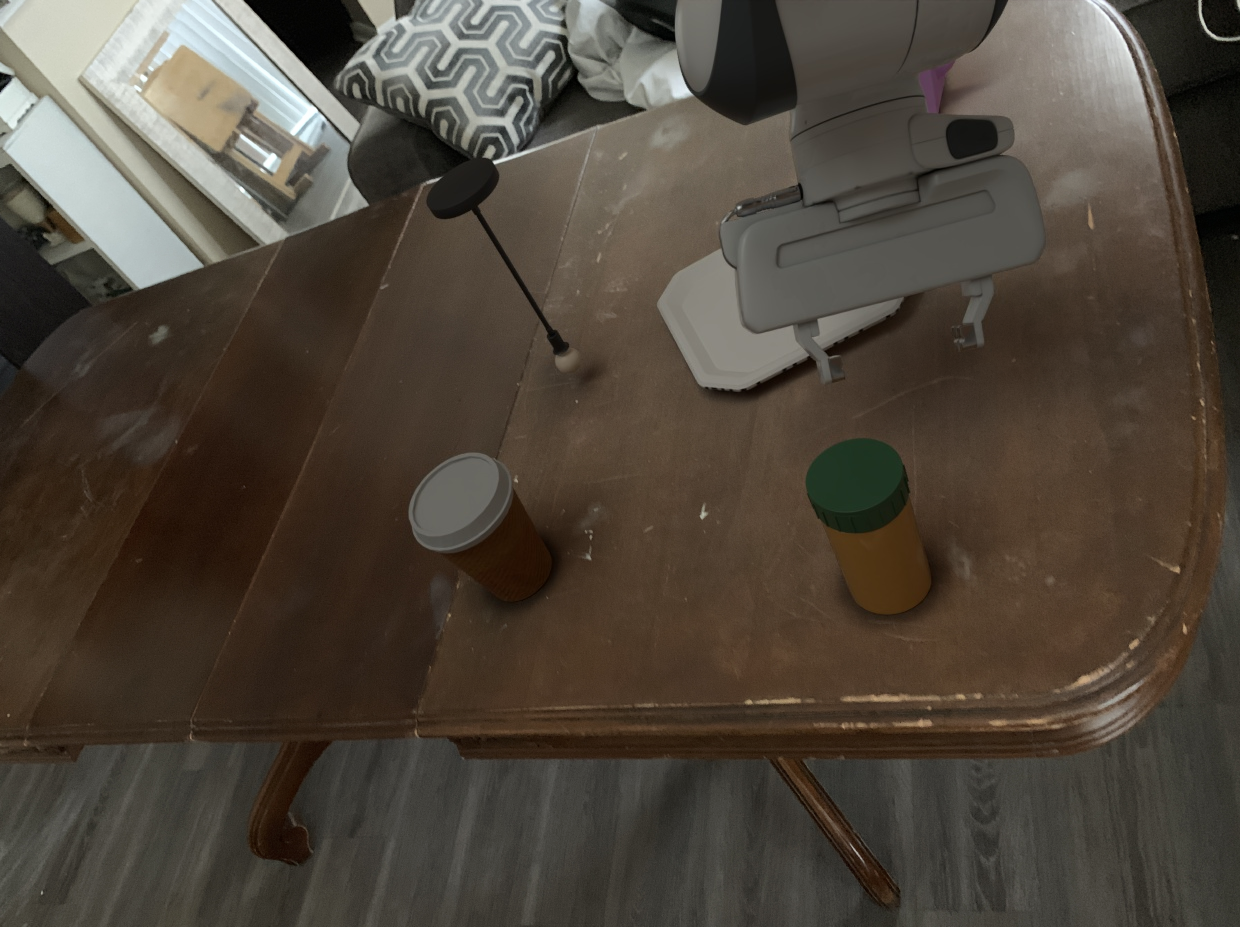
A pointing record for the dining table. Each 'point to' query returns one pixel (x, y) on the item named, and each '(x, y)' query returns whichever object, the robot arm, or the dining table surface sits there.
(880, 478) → the lid
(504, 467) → the disposable coffee cup
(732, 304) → the plate
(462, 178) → the light fixture
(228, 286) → the dining table surface
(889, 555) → the jar
